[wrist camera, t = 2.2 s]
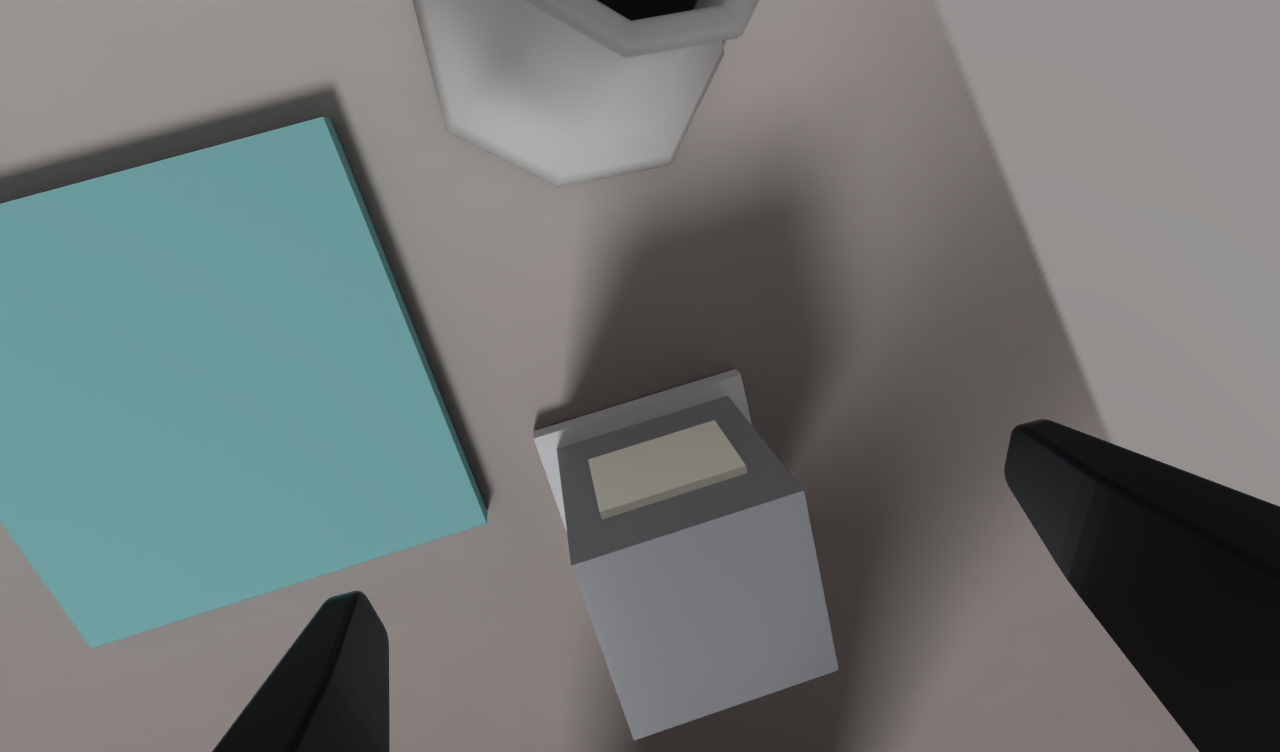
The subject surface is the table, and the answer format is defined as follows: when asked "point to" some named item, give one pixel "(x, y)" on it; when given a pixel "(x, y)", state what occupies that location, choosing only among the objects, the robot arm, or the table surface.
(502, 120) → the flask
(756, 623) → the box
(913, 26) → the table surface
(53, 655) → the table surface
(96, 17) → the table surface
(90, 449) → the mat
